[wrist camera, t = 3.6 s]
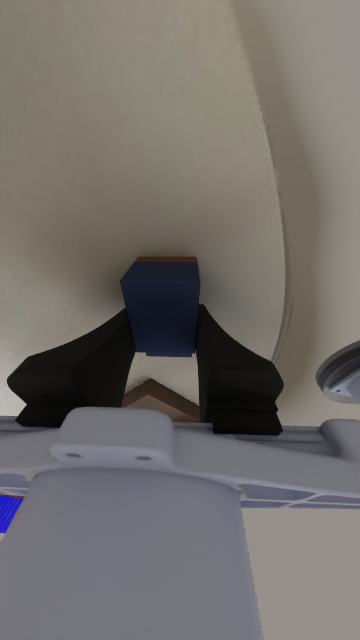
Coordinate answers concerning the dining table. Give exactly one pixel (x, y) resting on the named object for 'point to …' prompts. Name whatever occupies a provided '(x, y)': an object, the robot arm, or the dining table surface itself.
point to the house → (8, 509)
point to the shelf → (162, 402)
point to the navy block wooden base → (163, 304)
